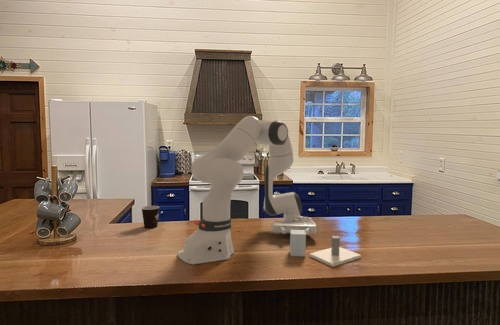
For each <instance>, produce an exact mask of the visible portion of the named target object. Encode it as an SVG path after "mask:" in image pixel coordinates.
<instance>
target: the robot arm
mask: <svg viewBox="0 0 500 325" xmlns="http://www.w3.org/2000/svg"><path fill="white" fill-rule="evenodd" d="M255 144H256V145H264V146H265V145H267V146H268V151H269V162H268V164H267V165H266V166H265V170H264V199H263V200H264V201H263V210H264V212H265V213H266V214H268V215H269V216H271V217H272V216H273V217H274V216H277V215H282V214H283V218H282V219H283V220H275V221H273V222H272V223H271V226H272V228H271V230H272V232H273V233H279V234H280V233H282V234H283V235H287V234H290V230H305V233H306V236H307V235H308V234H317V232H318V231H317V229H318V226H317V223H316V222H315V221H314V220H313V219H312V218H311V217H309V216H302V215H301V214H302V212H303V206H302V201H301V199H300V198H301V197H300V196H299V195H298V193H296V192H294V191H291V192H285V193H279V194H274V193H273V191H274V190H273V185H274V180H275V179H276V178H277V177H278V176H280V175H281V174H283V173H285V172H286V171H288V170H289V169H290V168H291V167H292V165H293V163H294V150H293V147H292V146H293V145H292V143H291V139H290V136H289V129H288V127H287V125H286V123H284V122H283V121H281V120H269V119H268V120H266V119H263V120H259V118H257V117H255V116H253V115H247V116H245V117H243V118H242V119H241V120H240V121H238V122H237V124H235V126H234V127H232V129H231V131H230V132H229V133H228V134H227V135H226V136H225V138H224V139H223V140H222V141H221V142H220V143H218V145H216V146H214V148H212V149H210V150H209V151H208V152H207V153H204V154H203V155H201V156H199V157H197V158H195V159H194V160H193V161H192V164H191V165H190V172H191V175H192V177H193V178H194V179H196V180H198V181H200V182H201V183H206V184H208V185H209V184H210V187H209V191H208V193H207V195H205V196H204V197H203V198H202V218H201V219H200V220H199V219H194V220H193V224H194V225H196V226H198V227H197V229H196V230H195V231H193V232H192V234H190V235H189V236H188V237H186V239H185V241H184V245H183V249H182V250H178V252H177V257H178V258H179V259H180V260H181V261H182V262H184V263H186V264H189V265H198V264H205V263H212V262H213V263H214V262H217V261H225V260H230V259H231V256H232V255H233V254H234V253H235V250H234V246H233V242H232V236H231V235H232V234H231V230H232V217H231V200H232V196H233V193H234V190H235V188H236V187H237V186H238V185H239V184H240V183H241V182H242V180H243V178H244V168H243V165H242V164H241V163H240V162H239V161H242V159H243V158H245V157H246V155H247V154H248V153H249V151H250V150H251V149H252V147H253V146H254V145H255Z"/></svg>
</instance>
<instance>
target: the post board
mask: <svg viewBox="0 0 500 325" xmlns="http://www.w3.org/2000/svg"><path fill="white" fill-rule="evenodd" d="M340 240H341V237H340V236H339V235H332V236H331V247H330V248H326V249H322V250H317V251H314V252H310V253H309V257H310V258H312V259H314V260H317V261H319V262H321V263H323V264H325V265H327V266H330V267H336V266H340V265H343V264H346V263H349V262H352V261H356V260H358V259H361V258H362V254H359V253H357V252H354V251H352V250H350V249H346V248H344V247H341V246H340V245H341V244H340V243H341V242H340Z"/></svg>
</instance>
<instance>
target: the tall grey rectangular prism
mask: <svg viewBox="0 0 500 325" xmlns="http://www.w3.org/2000/svg"><path fill="white" fill-rule="evenodd" d="M306 242H307V235H306V233H305V230H290V233H289V254H290V257H306V250H307V249H306V245H307V244H306Z"/></svg>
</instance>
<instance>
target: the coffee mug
mask: <svg viewBox="0 0 500 325" xmlns="http://www.w3.org/2000/svg"><path fill="white" fill-rule="evenodd" d="M159 212H160V206H158V205H145V206H143V207H141V213H142V220H143V227H144V229H148V230H150V229H156V228H157V227H158V225H159V224H158V223H159V215H160V213H159Z"/></svg>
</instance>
